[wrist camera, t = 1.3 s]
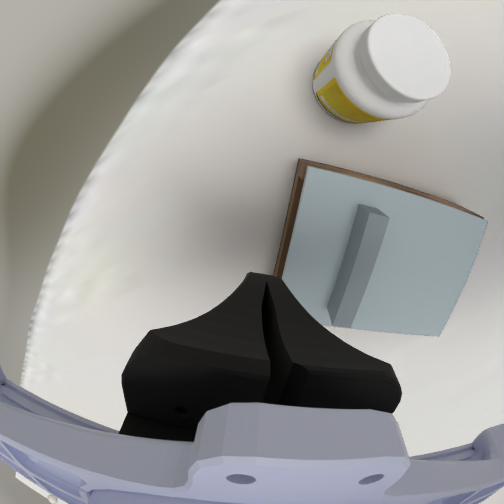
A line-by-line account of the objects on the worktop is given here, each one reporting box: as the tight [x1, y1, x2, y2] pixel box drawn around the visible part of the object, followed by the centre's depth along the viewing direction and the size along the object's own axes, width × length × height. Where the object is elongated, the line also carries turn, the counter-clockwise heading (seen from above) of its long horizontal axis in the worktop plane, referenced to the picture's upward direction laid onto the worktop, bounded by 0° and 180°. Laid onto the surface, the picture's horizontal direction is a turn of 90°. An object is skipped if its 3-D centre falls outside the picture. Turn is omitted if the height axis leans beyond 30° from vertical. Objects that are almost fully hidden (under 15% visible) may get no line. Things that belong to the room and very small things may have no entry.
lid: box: [282, 165, 488, 337], centre depth 17 cm, size 14×10×3 cm
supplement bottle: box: [313, 14, 451, 123], centre depth 13 cm, size 5×5×10 cm
